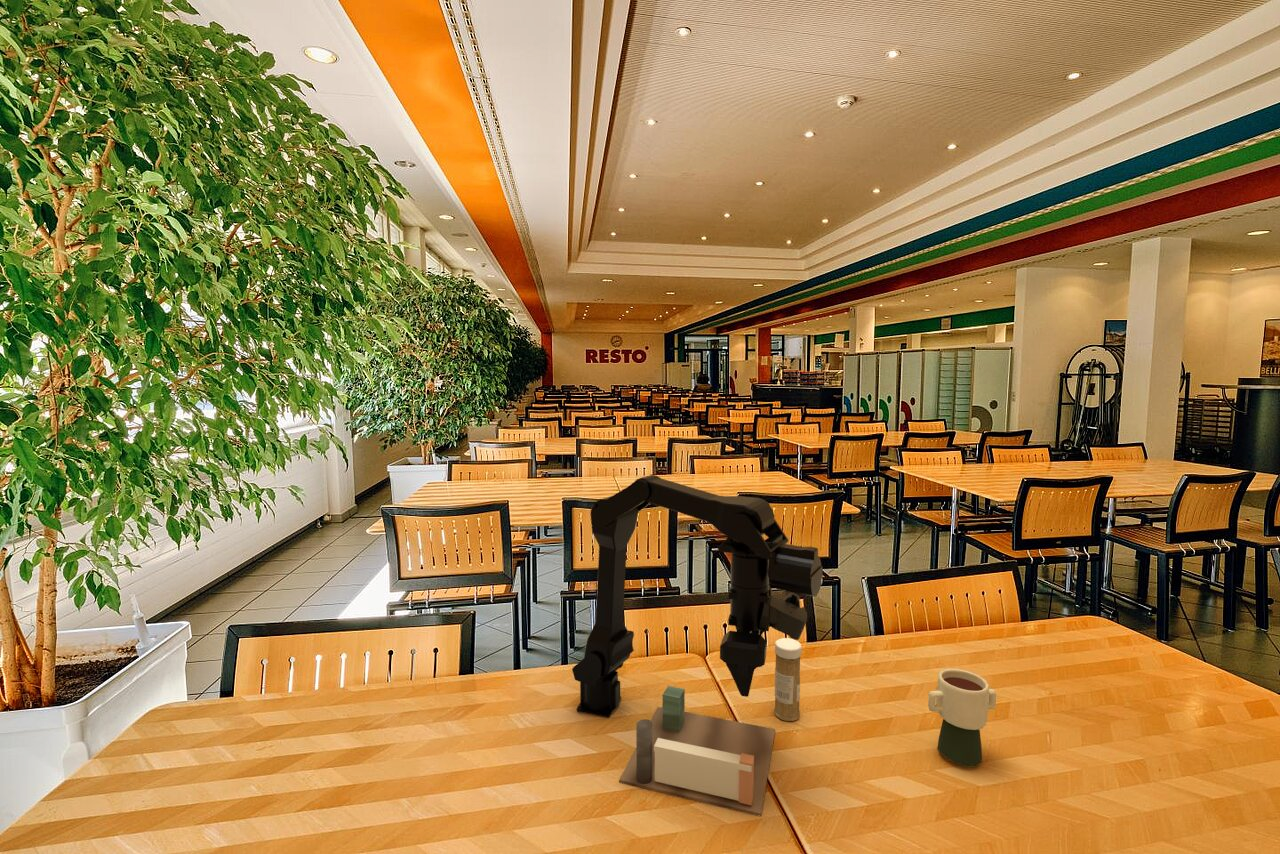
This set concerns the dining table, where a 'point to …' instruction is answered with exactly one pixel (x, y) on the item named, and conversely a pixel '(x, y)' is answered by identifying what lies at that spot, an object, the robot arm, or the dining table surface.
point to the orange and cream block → (705, 770)
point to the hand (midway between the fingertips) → (748, 679)
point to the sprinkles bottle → (787, 679)
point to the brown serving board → (702, 733)
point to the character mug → (961, 714)
